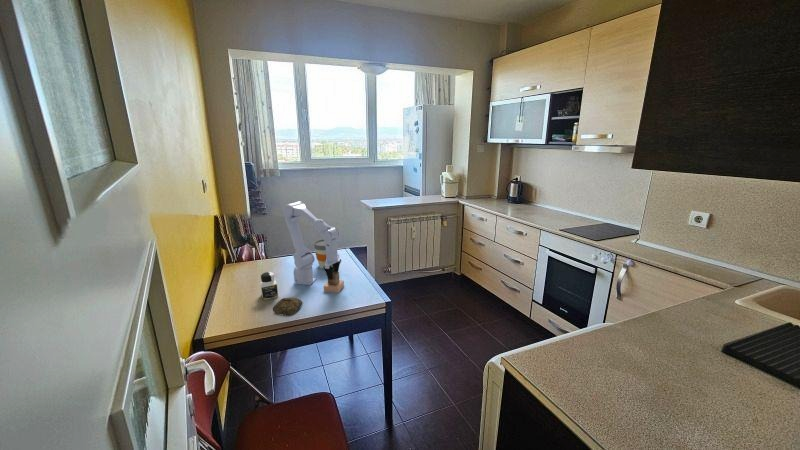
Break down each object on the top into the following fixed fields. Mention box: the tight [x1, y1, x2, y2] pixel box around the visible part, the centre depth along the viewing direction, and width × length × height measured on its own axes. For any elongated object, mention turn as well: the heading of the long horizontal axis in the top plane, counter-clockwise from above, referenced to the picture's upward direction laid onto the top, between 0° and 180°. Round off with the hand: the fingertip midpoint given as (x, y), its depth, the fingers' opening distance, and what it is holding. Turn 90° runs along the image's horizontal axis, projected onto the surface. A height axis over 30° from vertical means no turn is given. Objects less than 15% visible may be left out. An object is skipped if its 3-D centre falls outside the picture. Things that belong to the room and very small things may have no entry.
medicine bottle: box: [259, 271, 279, 301], centre depth 165 cm, size 7×7×12 cm
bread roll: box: [272, 296, 303, 316], centre depth 154 cm, size 13×12×5 cm
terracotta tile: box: [323, 279, 345, 294], centre depth 173 cm, size 8×8×3 cm
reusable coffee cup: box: [314, 239, 332, 269], centre depth 201 cm, size 12×13×15 cm
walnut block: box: [327, 271, 340, 285], centre depth 172 cm, size 4×4×6 cm
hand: (333, 276), depth 171 cm, fingers open, 7 cm apart
